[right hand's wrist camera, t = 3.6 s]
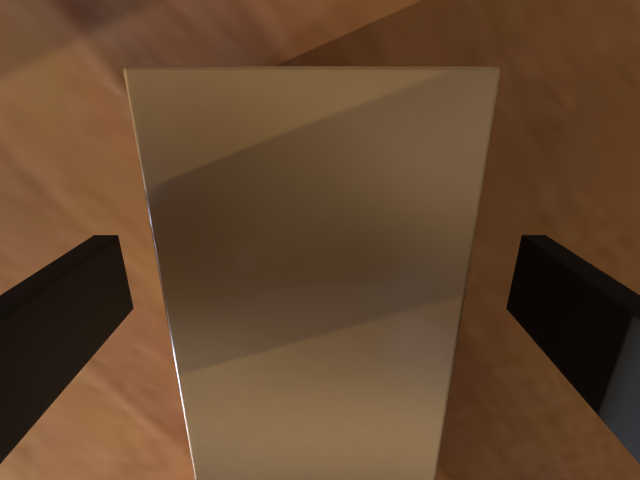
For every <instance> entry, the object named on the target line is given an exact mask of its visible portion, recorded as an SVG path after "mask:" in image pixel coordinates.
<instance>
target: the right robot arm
mask: <svg viewBox="0 0 640 480" xmlns="http://www.w3.org/2000/svg"><path fill="white" fill-rule="evenodd" d="M132 310H133V304H132V299H131V294H130V289H129V285H128V280H127V275H126V270H125V266H124V261H123V256H122V251H121V247H120V242H119V237H118V235H94V236H92V237H91V238H89V239H88V240H86V241H85V242H83V243H82V244H80V245H78V246H77V247H75V248H74V249H72V250H71V251H69V252H67V253H66V254H64V255H63V256H61V257H60V258H58V259H57V260H55V261H53V262H52V263H50V264H49V265H47V266H46V267H44V268H42V269H41V270H39V271H38V272H36V273H35V274H33V275H32V276H30V277H28V278H27V279H25V280H24V281H22V282H21V283H19V284H17V285H16V286H14V287H13V288H11V289H10V290H8V291H7V292H5V293H3V294H2V295H0V464H1V462H2V461H3V460H4V459H5V458H6V457H7V455H8V454H9V453H10V452H11V451H12V450H13V448H14V447H15V446H16V445H17V444H18V443H19V441H20V440H21V439H22V438H23V437H24V436H25V434H26V433H27V432H28V431H29V430H30V429H31V427H32V426H33V425H34V424H35V423H36V422H37V420H38V419H39V418H40V417H41V416H42V415H43V413H44V412H45V411H46V410H47V409H48V408H49V406H50V405H51V404H52V403H53V402H54V401H55V399H56V398H57V397H58V396H59V395H60V394H61V392H62V391H63V390H64V389H65V388H66V387H67V385H68V384H69V383H70V382H71V381H72V380H73V378H74V377H75V376H76V375H77V374H78V373H79V371H80V370H81V369H82V368H83V367H84V366H85V364H86V363H87V362H88V361H89V360H90V359H91V357H92V356H93V355H94V354H95V353H96V352H97V350H98V349H99V348H100V347H101V346H102V345H103V343H104V342H105V341H106V340H107V339H108V338H109V336H110V335H111V334H112V333H113V332H114V331H115V329H116V328H117V327H118V326H119V325H120V324H121V322H122V321H123V320H124V319H125V318H126V317H127V315H128V314H129V313H130V312H131V311H132ZM507 310H508V311H509V312H510V313H511V314H512V315H513V317H514V318H515V319H516V320H517V321H518V322H519V324H520V325H521V326H522V327H523V328H524V329H525V331H526V332H527V333H528V334H529V335H530V336H531V338H532V339H533V340H534V341H535V342H536V343H537V345H538V346H539V347H540V348H541V349H542V350H543V352H544V353H545V354H546V355H547V356H548V357H549V359H550V360H551V361H552V362H553V363H554V364H555V366H556V367H557V368H558V369H559V370H560V371H561V373H562V374H563V375H564V376H565V377H566V378H567V380H568V381H569V382H570V383H571V384H572V385H573V387H574V388H575V389H576V390H577V391H578V392H579V394H580V395H581V396H582V397H583V398H584V399H585V401H586V402H587V403H588V404H589V405H590V406H591V408H592V409H593V410H594V411H595V412H596V413H597V415H598V416H599V417H600V418H601V419H602V420H603V422H604V423H605V424H606V425H607V426H608V427H609V429H610V430H611V431H612V432H613V433H614V434H615V436H616V437H617V438H618V439H619V440H620V441H621V443H622V444H623V445H624V446H625V447H626V448H627V450H628V451H629V452H630V453H631V454H632V455H633V457H634V458H635V459H636V460H637V461H638V462H639V464H640V295H638V294H637V293H635V292H633V291H632V290H630V289H629V288H627V287H626V286H624V285H623V284H621V283H619V282H618V281H616V280H615V279H613V278H612V277H610V276H608V275H607V274H605V273H604V272H602V271H601V270H599V269H598V268H596V267H594V266H593V265H591V264H590V263H588V262H587V261H585V260H583V259H582V258H580V257H579V256H577V255H576V254H574V253H573V252H571V251H569V250H568V249H566V248H565V247H563V246H562V245H560V244H558V243H557V242H555V241H554V240H552V239H551V238H549V237H548V236H546V235H522V237H521V242H520V247H519V251H518V256H517V261H516V266H515V270H514V275H513V280H512V285H511V289H510V294H509V299H508V304H507Z"/></svg>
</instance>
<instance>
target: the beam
mask: <svg viewBox="0 0 640 480" xmlns="http://www.w3.org/2000/svg"><path fill="white" fill-rule="evenodd" d="M500 75H501V68H500V67H498V66H127V67H125V68H124V76H125V82H126V88H127V93H128V99H129V105H130V111H131V116H132V122H133V128H134V133H135V139H136V145H137V150H138V156H139V162H140V167H141V173H142V179H143V184H144V190H145V196H146V201H147V207H148V213H149V219H150V224H151V230H152V236H153V241H154V247H155V253H156V258H157V264H158V270H159V275H160V281H161V287H162V292H163V298H164V304H165V310H166V315H167V321H168V327H169V332H170V338H171V344H172V349H173V355H174V361H175V366H176V372H177V378H178V383H179V389H180V395H181V401H182V406H183V412H184V418H185V423H186V429H187V435H188V440H189V446H190V452H191V457H192V463H193V469H194V474H195V480H435V476H436V470H437V463H438V457H439V451H440V445H441V439H442V432H443V426H444V420H445V414H446V408H447V402H448V395H449V389H450V383H451V377H452V371H453V365H454V358H455V352H456V346H457V340H458V334H459V328H460V321H461V315H462V309H463V303H464V297H465V291H466V284H467V278H468V272H469V266H470V260H471V253H472V247H473V241H474V235H475V229H476V223H477V216H478V210H479V204H480V198H481V192H482V186H483V179H484V173H485V167H486V161H487V155H488V149H489V142H490V136H491V130H492V124H493V118H494V112H495V105H496V99H497V93H498V87H499V81H500Z"/></svg>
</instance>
